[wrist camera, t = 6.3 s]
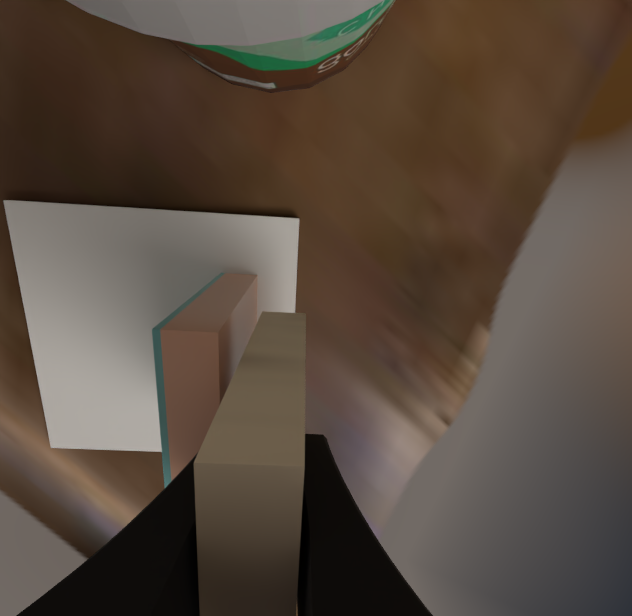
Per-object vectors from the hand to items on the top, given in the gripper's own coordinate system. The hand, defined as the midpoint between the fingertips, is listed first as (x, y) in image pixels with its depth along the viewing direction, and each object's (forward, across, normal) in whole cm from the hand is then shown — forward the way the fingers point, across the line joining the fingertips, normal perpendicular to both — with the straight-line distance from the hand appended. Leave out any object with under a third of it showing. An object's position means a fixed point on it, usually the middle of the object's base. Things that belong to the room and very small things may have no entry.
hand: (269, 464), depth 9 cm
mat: (+8, +6, 0) cm, 10 cm away
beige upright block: (+4, 0, 0) cm, 5 cm away
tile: (+7, +2, 0) cm, 8 cm away
